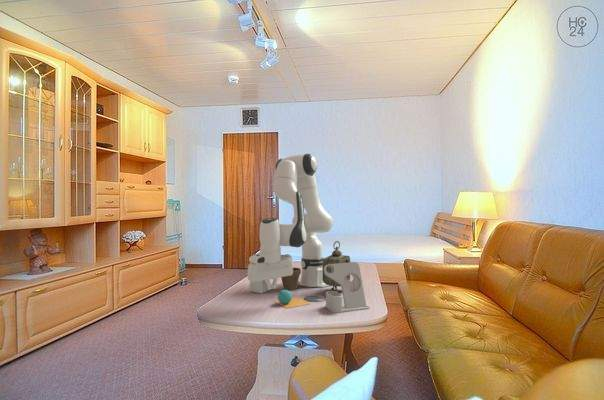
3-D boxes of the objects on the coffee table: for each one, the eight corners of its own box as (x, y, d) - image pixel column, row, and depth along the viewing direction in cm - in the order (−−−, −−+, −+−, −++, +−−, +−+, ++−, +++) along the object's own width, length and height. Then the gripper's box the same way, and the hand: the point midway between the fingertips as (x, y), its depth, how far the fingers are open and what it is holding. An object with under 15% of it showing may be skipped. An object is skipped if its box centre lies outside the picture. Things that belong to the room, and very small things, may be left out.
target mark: (297, 297, 154) (297, 296, 154) (310, 303, 144) (310, 303, 144) (273, 301, 148) (273, 300, 148) (286, 308, 138) (286, 308, 138)
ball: (273, 299, 145) (283, 304, 147) (279, 301, 140) (290, 307, 142) (279, 286, 147) (289, 292, 149) (286, 288, 142) (296, 294, 144)
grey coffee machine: (333, 313, 132) (332, 268, 132) (323, 306, 141) (323, 263, 141) (371, 308, 137) (371, 265, 138) (359, 301, 147) (359, 261, 147)
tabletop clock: (338, 296, 156) (338, 242, 157) (321, 293, 161) (321, 241, 161) (350, 289, 169) (350, 240, 169) (334, 287, 173) (334, 239, 174)
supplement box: (249, 291, 165) (249, 266, 165) (258, 288, 171) (258, 264, 172) (261, 293, 161) (261, 267, 162) (270, 290, 168) (270, 265, 168)
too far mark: (317, 294, 159) (317, 294, 159) (330, 299, 151) (330, 299, 151) (300, 297, 154) (300, 297, 154) (311, 303, 145) (311, 302, 145)
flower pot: (276, 286, 174) (276, 267, 175) (297, 285, 178) (297, 266, 178) (282, 292, 163) (281, 271, 164) (303, 290, 167) (303, 270, 167)
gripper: (288, 252, 149) (289, 283, 149) (245, 258, 138) (246, 291, 138) (295, 254, 144) (296, 286, 144) (251, 260, 133) (252, 294, 133)
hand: (271, 288), depth 141 cm, fingers closed
